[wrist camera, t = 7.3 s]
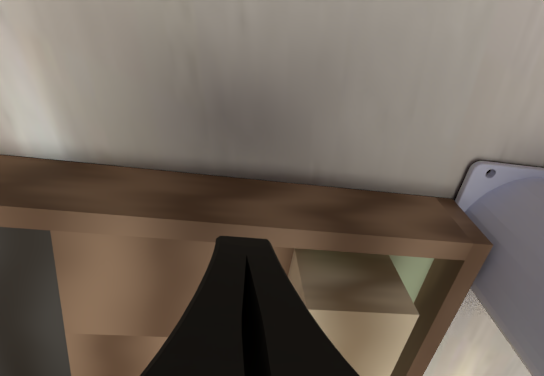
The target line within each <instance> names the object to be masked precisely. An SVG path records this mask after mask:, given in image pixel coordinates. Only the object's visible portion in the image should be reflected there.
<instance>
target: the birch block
mask: <svg viewBox="0 0 544 376" xmlns="http://www.w3.org/2000/svg"><path fill="white" fill-rule="evenodd" d="M288 278H289V280H290V282H291V283H292V285H293V287H294V288H295V290H296V291H297V293H298V295H299V296H300V298H301V300H302V301H303V303H304V304H305V306H306V307H307V309H308V310H309V312H310V313H311V315H312V316H313V318H314V319H315V320H316V322H317V323H318V325H319V326H320V328H321V329H322V330H323V332H324V333H325V334H326V336H327V337H328V338H329V340H330V341H331V342H332V343H333V345H334V346H335V347H336V348H337V350H338V351H339V352H340V353H341V355H342V356H343V357H344V358H345V359H346V361H347V362H348V363H349V364H350V365H351V366H352V367H353V369H354V370H355V371H356V372H357V373H358V374H359V375H360V376H390V375H391V373H392V371H393V369H394V367H395V365H396V363H397V361H398V359H399V357H400V354H401V352H402V350H403V348H404V346H405V344H406V342H407V340H408V338H409V336H410V334H411V332H412V330H413V327H414V325H415V323H416V321H417V319H418V317H419V313H418V311H417V309H416V307H415V305H414V303H413V301H412V299H411V297H410V295H409V293H408V292H407V290H406V288H405V286H404V284H403V282H402V280H401V278H400V276H399V274H398V272H397V270H396V268H395V266H394V264H393V262H392V260H391V258H390V256H389V255H382V254H368V253H354V252H340V251H326V250H313V249H299V248H294V252H293V257H292V261H291V265H290V269H289V274H288Z"/></svg>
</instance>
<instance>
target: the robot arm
mask: <svg viewBox="0 0 544 376" xmlns="http://www.w3.org/2000/svg"><path fill="white" fill-rule="evenodd" d="M490 169H491V171H490V173H488V174H486V172H487V171H488V170H490ZM455 202H456V204H457V205H458V206H459V207H460V208H461V209H462V210H463V211H464V213H465V214H466V215H467V216H468V217H469V218H470V219H471V220H472V222H473V223H474V224H475V225H476V226H477V227H478V228H479V229H480V231H481V232H482V233H483V234H484V235H485V236H486V237H487V238H488V240H489V241H490V242H491V243H492V244H493V247H492V249H491V251H490V252H489V254H488V256H487V258H486V260H485V262H484V263H483V265H482V267H481V269H480V271H479V273H478V275H477V276H476V278H475V280H474V282H473V284H472V286H471V287H470V288H471V290H472V291H473V293H474V294H475V295H476V297H477V298H478V300H479V301H480V303H481V304H482V305H483V307H484V308H485V310H486V311H487V313H488V314H489V315H490V317H491V318H492V320H493V321H494V322H495V324H496V325H497V327H498V328H499V330H500V331H501V332H502V334H503V335H504V337H505V338H506V340H507V341H508V342H509V344H510V345H511V347H512V348H513V349H514V351H515V352H516V354H517V355H518V357H519V358H520V359H521V361H522V362H523V364H524V365H525V367H526V368H527V369H528V371H529V372H530V374H531V375H532V376H544V168H541V167H532V166H523V165H514V164H506V163H497V162H488V161H478V162H475V163H474V164H472V165H471V167H470V168H469V170H468V173H467V175H466V177H465V179H464V181H463V184H462V186H461V188H460V190H459V193H458V195H457V197H456V199H455ZM140 376H360V375H359V374H358V373H357V372H356V371H355V370H354V369H353V367H352V366H351V365H350V364H349V363H348V362H347V361H346V359H345V358H344V357H343V356H342V355H341V353H340V352H339V351H338V350H337V348H336V347H335V346H334V345H333V343H332V342H331V341H330V340H329V338H328V337H327V336H326V334H325V333H324V332H323V330H322V329H321V328H320V326H319V325H318V323H317V322H316V320H315V319H314V318H313V316H312V315H311V313H310V312H309V310H308V309H307V307H306V306H305V304H304V303H303V301H302V300H301V298H300V296H299V295H298V293H297V291H296V290H295V288H294V287H293V285H292V283H291V282H290V280H289V278H288V276H287V275H286V273H285V271H284V269H283V267H282V265H281V264H280V262H279V260H278V258H277V256H276V254H275V251H274V249H273V247H272V245H271V243H270V242H269V240H268V239H260V238H247V237H234V236H219V237H218V238H216V242H215V247H214V251H213V254H212V257H211V260H210V262H209V265H208V267H207V270H206V272H205V274H204V276H203V278H202V280H201V282H200V284H199V286H198V289H197V291H196V292H195V294H194V296H193V298H192V300H191V301H190V303H189V305H188V306H187V308H186V310H185V312H184V313H183V315H182V317H181V318H180V320H179V322H178V323H177V325H176V326H175V328H174V329H173V331H172V332H171V334H170V335H169V337H168V338H167V340H166V341H165V343H164V344H163V345H162V347H161V348H160V350H159V351H158V352H157V354H156V355H155V356H154V358H153V359H152V360H151V362H150V363H149V364H148V366H147V367H146V368H145V369H144V371H143V372H142V373H141V375H140Z"/></svg>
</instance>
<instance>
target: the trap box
mask: <svg viewBox="0 0 544 376" xmlns="http://www.w3.org/2000/svg"><path fill="white" fill-rule="evenodd" d="M219 236H234V237H247V238H260V239H268V240H269V242H270V243H271V245H272V247H273V249H274V251H275V254H276V256H277V258H278V260H279V262H280V264H281V265H282V267H283V269H284V271H285V273H286V275H287V276H288V274H289V269H290V265H291V261H292V257H293V252H294V248H299V249H313V250H326V251H340V252H354V253H368V254H382V255H389V256H390V258H391V260H392V262H393V264H394V266H395V268H396V270H397V272H398V274H399V276H400V278H401V280H402V282H403V284H404V286H405V288H406V290H407V292H408V293H409V295H410V297H411V299H412V301H413V303H414V305H415V307H416V309H417V311H418V313H419V317H418V319H417V321H416V323H415V325H414V327H413V330H412V332H411V334H410V336H409V338H408V340H407V342H406V344H405V346H404V348H403V350H402V352H401V354H400V357H399V359H398V361H397V363H396V365H395V367H394V369H393V371H392V373H391V375H390V376H423V374H424V372H425V370H426V368H427V366H428V365H429V363H430V361H431V359H432V357H433V355H434V354H435V352H436V350H437V348H438V346H439V344H440V343H441V341H442V339H443V337H444V335H445V333H446V332H447V330H448V328H449V326H450V324H451V322H452V321H453V319H454V317H455V315H456V313H457V311H458V309H459V308H460V306H461V304H462V302H463V300H464V298H465V297H466V295H467V293H468V291H469V289H470V287H471V286H472V284H473V282H474V280H475V278H476V276H477V275H478V273H479V271H480V269H481V267H482V265H483V263H484V262H485V260H486V258H487V256H488V254H489V252H490V251H491V249H492V247H493V244H492V243H491V242H490V241H489V240H488V238H487V237H486V236H485V235H484V234H483V233H482V232H481V231H480V229H479V228H478V227H477V226H476V225H475V224H474V223H473V222H472V220H471V219H470V218H469V217H468V216H467V215H466V214H465V213H464V211H463V210H462V209H461V208H460V207H459V206H458V205H457V204H456V202H455V201H454V200H453V199H449V198H439V197H428V196H418V195H408V194H398V193H387V192H377V191H367V190H357V189H346V188H336V187H326V186H316V185H305V184H295V183H285V182H274V181H264V180H254V179H244V178H233V177H223V176H213V175H203V174H192V173H182V172H172V171H162V170H151V169H141V168H131V167H121V166H110V165H100V164H90V163H79V162H69V161H59V160H49V159H38V158H28V157H18V156H8V155H0V376H140V375H141V373H142V372H143V371H144V369H145V368H146V367H147V366H148V364H149V363H150V362H151V360H152V359H153V358H154V356H155V355H156V354H157V352H158V351H159V350H160V348H161V347H162V345H163V344H164V343H165V341H166V340H167V338H168V337H169V335H170V334H171V332H172V331H173V329H174V328H175V326H176V325H177V323H178V322H179V320H180V318H181V317H182V315H183V313H184V312H185V310H186V308H187V306H188V305H189V303H190V301H191V300H192V298H193V296H194V294H195V292H196V291H197V289H198V286H199V284H200V282H201V280H202V278H203V276H204V274H205V272H206V270H207V267H208V265H209V262H210V260H211V257H212V254H213V251H214V247H215V242H216V238H218V237H219Z"/></svg>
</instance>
